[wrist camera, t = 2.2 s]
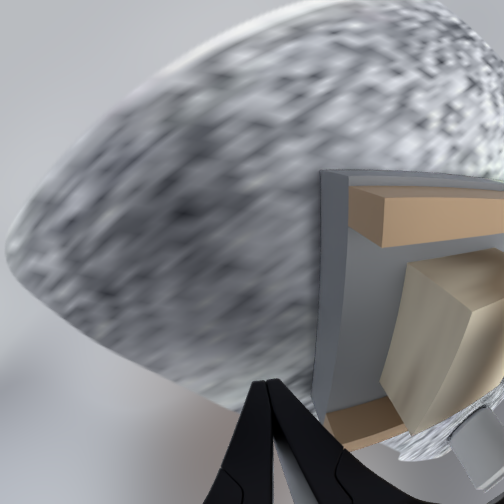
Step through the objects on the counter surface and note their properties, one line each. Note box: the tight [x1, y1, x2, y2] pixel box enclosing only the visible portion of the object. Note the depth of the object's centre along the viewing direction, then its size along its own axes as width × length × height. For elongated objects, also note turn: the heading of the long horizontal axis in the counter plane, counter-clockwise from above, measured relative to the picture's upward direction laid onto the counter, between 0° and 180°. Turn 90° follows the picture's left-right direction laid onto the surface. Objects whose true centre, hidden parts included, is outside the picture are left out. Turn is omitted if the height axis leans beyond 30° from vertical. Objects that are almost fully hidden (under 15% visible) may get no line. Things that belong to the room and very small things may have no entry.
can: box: [449, 408, 504, 493], centre depth 17 cm, size 8×8×12 cm
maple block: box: [379, 248, 504, 436], centre depth 8 cm, size 6×6×4 cm
